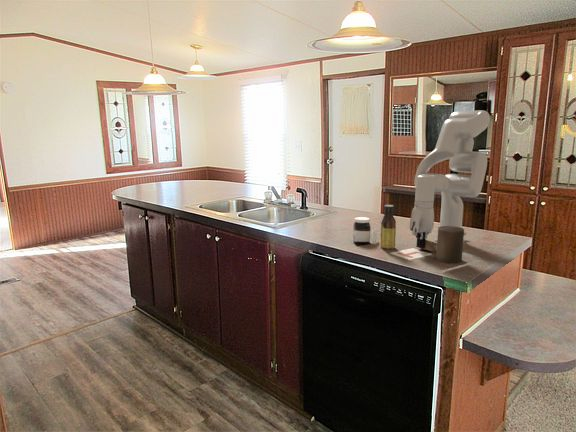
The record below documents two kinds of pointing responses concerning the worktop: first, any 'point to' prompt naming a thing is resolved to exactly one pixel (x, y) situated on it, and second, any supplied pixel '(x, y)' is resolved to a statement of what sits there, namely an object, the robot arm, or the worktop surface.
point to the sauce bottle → (388, 229)
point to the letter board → (411, 253)
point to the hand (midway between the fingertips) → (420, 247)
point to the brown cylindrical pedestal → (450, 244)
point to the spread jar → (363, 232)
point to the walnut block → (430, 246)
